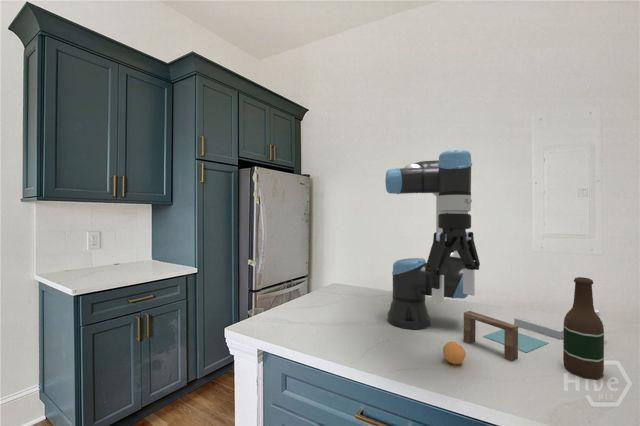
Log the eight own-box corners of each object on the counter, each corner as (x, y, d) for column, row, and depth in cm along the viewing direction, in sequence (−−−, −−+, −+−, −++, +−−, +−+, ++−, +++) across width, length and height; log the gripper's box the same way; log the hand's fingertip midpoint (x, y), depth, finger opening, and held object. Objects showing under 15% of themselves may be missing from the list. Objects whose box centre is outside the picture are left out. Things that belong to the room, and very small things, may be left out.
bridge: (511, 361, 82) (512, 327, 82) (463, 341, 94) (463, 312, 94) (517, 358, 83) (518, 325, 83) (469, 339, 96) (469, 310, 96)
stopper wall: (514, 325, 108) (514, 318, 108) (517, 324, 109) (517, 317, 109) (560, 339, 96) (560, 331, 96) (563, 338, 97) (563, 330, 97)
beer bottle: (555, 364, 80) (556, 275, 80) (582, 363, 81) (582, 274, 81) (583, 381, 72) (584, 282, 72) (612, 379, 73) (613, 281, 73)
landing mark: (483, 336, 98) (483, 336, 98) (505, 329, 104) (505, 328, 104) (526, 352, 87) (526, 352, 87) (548, 343, 93) (548, 342, 93)
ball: (438, 360, 82) (438, 340, 82) (451, 356, 85) (451, 336, 85) (456, 370, 77) (456, 348, 77) (469, 364, 80) (469, 344, 80)
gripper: (438, 211, 65) (437, 310, 64) (494, 213, 79) (494, 294, 79) (409, 212, 71) (409, 302, 71) (466, 213, 85) (466, 288, 85)
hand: (454, 298), depth 75 cm, fingers open, 13 cm apart
